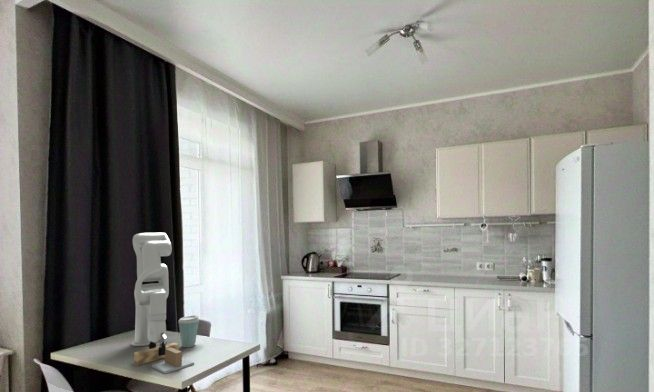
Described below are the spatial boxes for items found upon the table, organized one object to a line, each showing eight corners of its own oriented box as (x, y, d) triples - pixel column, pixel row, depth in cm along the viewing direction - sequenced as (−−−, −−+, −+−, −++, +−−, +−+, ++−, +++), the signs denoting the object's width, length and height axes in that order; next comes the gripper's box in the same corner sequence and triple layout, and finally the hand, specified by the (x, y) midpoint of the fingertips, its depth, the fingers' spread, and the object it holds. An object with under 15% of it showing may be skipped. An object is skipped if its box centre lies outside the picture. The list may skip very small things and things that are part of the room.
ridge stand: (151, 367, 174) (152, 351, 174) (180, 358, 184) (181, 343, 185) (164, 373, 166) (165, 357, 166) (194, 364, 176) (194, 349, 177)
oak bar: (137, 365, 176) (137, 354, 177) (133, 363, 179) (133, 352, 179) (178, 354, 192) (178, 344, 192) (174, 352, 194) (174, 342, 194)
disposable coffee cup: (177, 349, 197) (178, 320, 198) (177, 343, 207) (178, 315, 208) (199, 347, 201) (199, 318, 202) (198, 341, 211) (198, 313, 212)
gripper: (142, 316, 189) (141, 351, 188) (158, 321, 178) (157, 359, 177) (156, 313, 195) (156, 348, 193) (173, 317, 184) (173, 354, 182)
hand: (157, 353), depth 185 cm, fingers open, 9 cm apart
